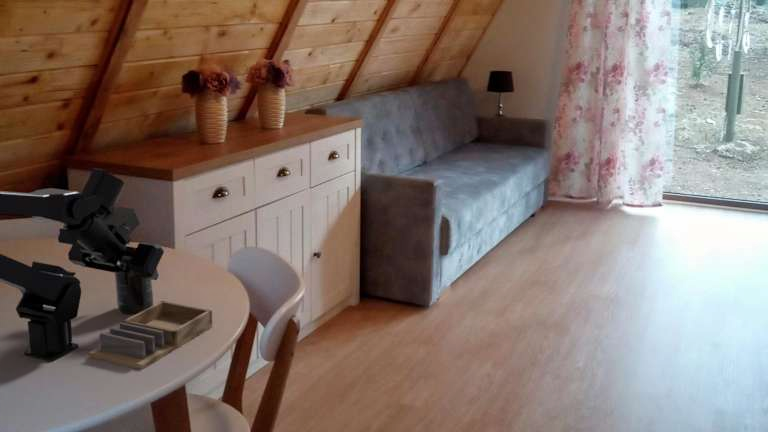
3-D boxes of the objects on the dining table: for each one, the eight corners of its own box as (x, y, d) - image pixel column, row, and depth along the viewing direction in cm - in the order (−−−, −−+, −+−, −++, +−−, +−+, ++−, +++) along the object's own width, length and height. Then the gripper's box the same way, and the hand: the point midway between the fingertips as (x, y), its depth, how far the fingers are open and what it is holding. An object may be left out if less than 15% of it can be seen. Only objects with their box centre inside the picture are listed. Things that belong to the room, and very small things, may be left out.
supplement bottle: (140, 300, 168) (136, 243, 165) (160, 308, 164) (157, 250, 161) (110, 309, 163) (106, 251, 160) (130, 318, 159) (126, 258, 155)
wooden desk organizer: (142, 369, 138) (141, 348, 137) (89, 356, 142) (87, 336, 141) (212, 326, 155) (211, 307, 154) (163, 317, 160) (162, 298, 159)
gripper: (154, 203, 150) (193, 245, 163) (74, 191, 157) (117, 233, 170) (128, 256, 145) (170, 295, 158) (46, 242, 152) (93, 281, 165)
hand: (137, 274), depth 163 cm, fingers open, 9 cm apart
